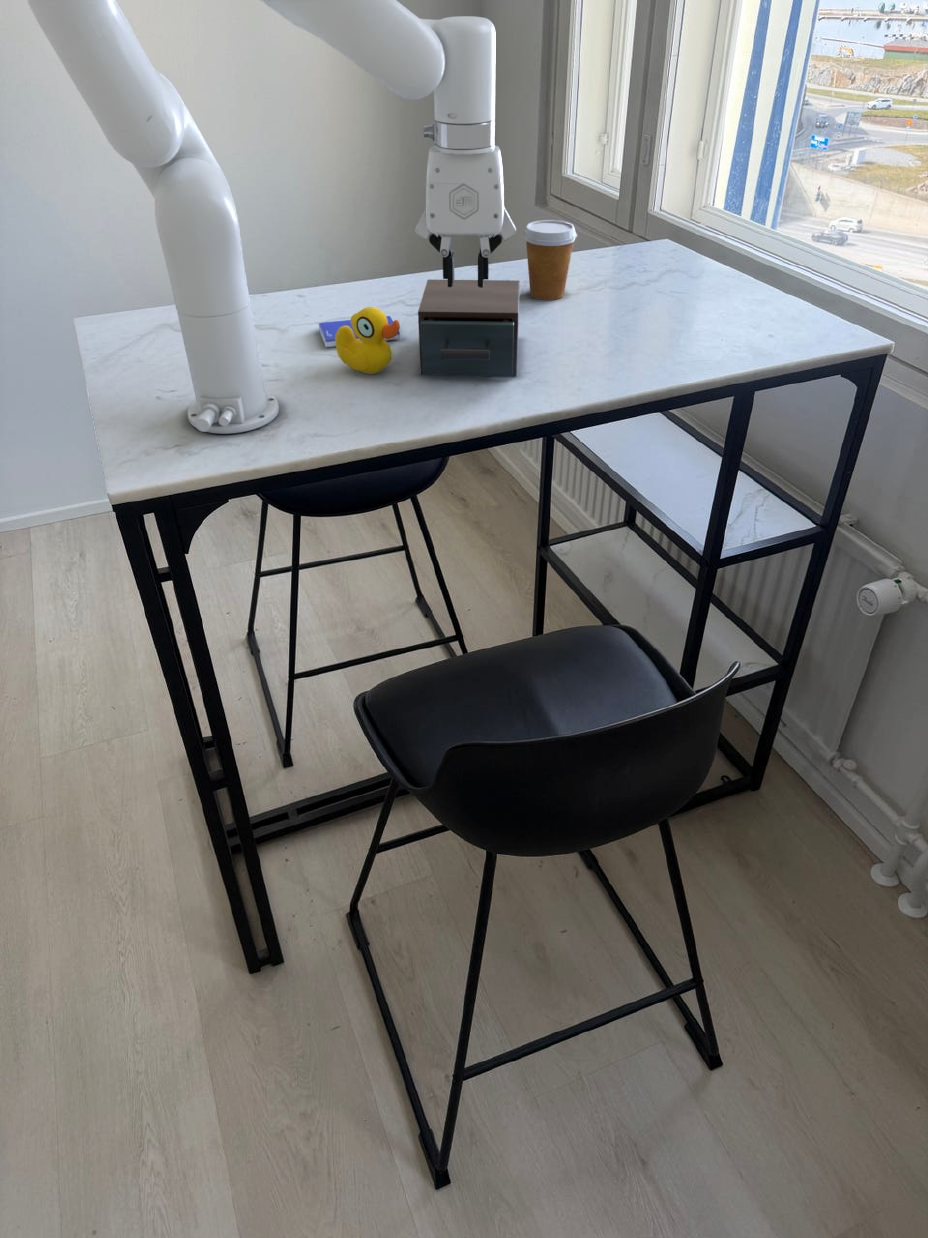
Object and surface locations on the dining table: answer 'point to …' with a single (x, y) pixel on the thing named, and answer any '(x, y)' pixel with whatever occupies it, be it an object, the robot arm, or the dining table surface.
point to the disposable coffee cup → (549, 257)
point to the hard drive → (331, 328)
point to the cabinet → (471, 304)
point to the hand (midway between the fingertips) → (465, 282)
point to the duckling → (366, 341)
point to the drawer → (467, 346)
